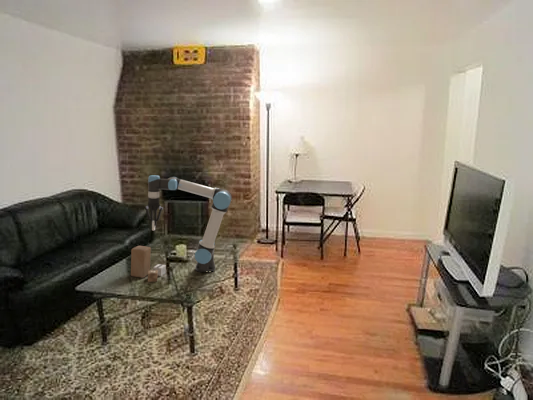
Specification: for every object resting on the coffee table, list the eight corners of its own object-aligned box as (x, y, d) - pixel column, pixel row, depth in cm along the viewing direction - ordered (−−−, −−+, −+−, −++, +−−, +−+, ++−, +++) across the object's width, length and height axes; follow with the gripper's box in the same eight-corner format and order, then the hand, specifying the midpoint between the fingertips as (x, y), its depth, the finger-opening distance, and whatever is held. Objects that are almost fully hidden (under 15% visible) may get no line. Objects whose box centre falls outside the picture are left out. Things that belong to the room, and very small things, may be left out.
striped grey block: (165, 273, 270) (165, 264, 269) (161, 276, 263) (161, 268, 262) (158, 271, 271) (158, 263, 270) (153, 275, 264) (153, 266, 263)
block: (143, 278, 257) (144, 250, 254) (130, 276, 259) (130, 248, 255) (150, 273, 266) (151, 246, 263) (137, 271, 268) (138, 245, 265)
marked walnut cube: (157, 278, 259) (157, 269, 258) (157, 281, 253) (157, 273, 252) (148, 278, 258) (148, 270, 257) (147, 281, 252) (148, 273, 251)
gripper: (164, 197, 264) (164, 229, 268) (146, 196, 264) (146, 228, 268) (161, 198, 257) (161, 231, 261) (142, 197, 257) (142, 230, 261)
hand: (153, 230), depth 264 cm, fingers closed
